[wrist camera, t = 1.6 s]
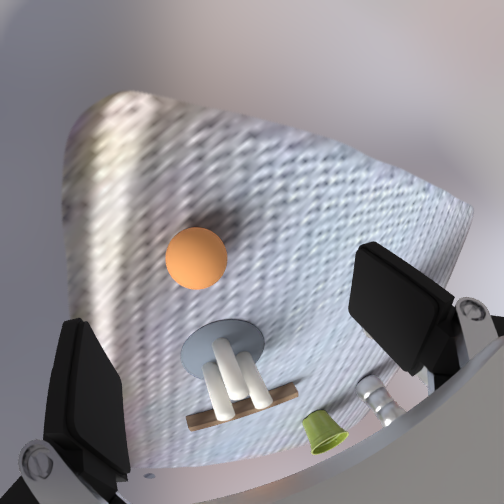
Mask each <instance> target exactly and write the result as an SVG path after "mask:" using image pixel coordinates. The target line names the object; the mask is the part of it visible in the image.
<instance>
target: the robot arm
mask: <svg viewBox="0 0 504 504" xmlns="http://www.w3.org/2000/svg"><path fill="white" fill-rule="evenodd" d="M454 298H455V297H454V296H453V295H452V294H450V293H449V292H448V291H446V290H445V289H444V288H442V287H441V286H439V285H438V284H437V283H435V282H434V281H433V280H431V279H430V278H428V277H427V276H426V275H424V274H423V273H421V272H420V271H418V270H417V269H416V268H414V267H413V266H411V265H410V264H408V263H407V262H405V261H404V260H402V259H401V258H399V257H398V256H396V255H395V254H393V253H392V252H390V251H389V250H387V249H386V248H384V247H383V246H381V245H380V244H378V243H377V242H369V243H366V244H362V245H360V246H359V248H358V250H357V252H356V255H355V264H354V272H353V279H352V286H351V293H350V300H349V306H348V309H349V313H350V315H351V316H352V317H353V318H354V319H355V320H356V321H357V322H358V323H359V324H360V325H361V327H362V329H363V332H364V334H365V335H366V336H367V337H368V338H370V339H374V340H375V341H376V342H377V343H378V344H379V345H380V346H381V347H382V348H383V349H384V351H385V352H386V353H387V354H388V355H389V356H390V357H391V358H392V359H393V360H394V361H395V362H396V363H397V364H398V365H399V366H400V367H401V369H402V370H404V371H406V372H409V374H410V375H411V376H414V375H416V376H417V377H418V378H419V379H420V380H421V381H422V382H423V383H424V384H425V385H426V386H427V388H428V397H427V398H426V399H424V400H423V401H422V402H420V403H419V404H418V405H416V406H415V407H413V408H412V409H411V410H409V411H408V412H406V413H405V414H404V415H402V416H401V417H399V418H398V419H396V420H395V421H393V422H392V423H390V424H389V425H387V426H386V427H384V428H382V429H381V430H379V431H378V432H376V433H375V434H373V435H371V436H369V437H368V438H366V439H364V440H363V441H361V442H359V443H357V444H355V445H354V446H352V447H350V448H348V449H346V450H345V451H343V452H341V453H339V454H337V455H335V456H333V457H331V458H329V459H326V460H324V461H322V462H320V463H318V464H316V465H314V466H311V467H309V468H307V469H304V470H302V471H300V472H298V473H295V474H293V475H290V476H287V477H285V478H282V479H280V480H277V481H274V482H271V483H269V484H266V485H263V486H260V487H257V488H253V489H250V490H247V491H244V492H240V493H237V494H233V495H229V496H225V497H222V498H217V499H213V500H209V501H204V502H200V503H194V504H504V317H500V316H492V315H490V313H489V311H488V309H487V307H486V306H485V305H484V304H483V303H481V302H480V301H479V300H476V299H474V298H469V297H463V298H461V299H459V300H458V301H457V303H456V305H455V307H454V306H452V303H453V300H454ZM18 466H19V471H20V472H21V476H20V477H19V479H17V481H16V482H15V483H14V484H13V485H12V487H10V488H9V490H8V491H7V492H6V493H5V494H4V495H3V496H2V498H0V504H131V503H130V502H128V501H127V500H126V499H125V498H124V497H123V496H121V495H120V494H119V493H118V492H117V491H118V489H117V483H116V482H126V481H128V479H127V473H130V462H129V456H128V448H127V441H126V432H125V422H124V411H123V397H122V383H121V379H120V377H119V375H118V373H117V372H116V370H115V368H114V367H113V365H112V363H111V362H110V360H109V359H108V357H107V355H106V353H105V352H104V350H103V348H102V347H101V345H100V343H99V341H98V339H97V338H96V336H95V334H94V332H93V330H92V328H91V327H90V325H89V323H88V322H87V321H85V322H83V320H82V319H81V318H76V319H72V320H68V321H64V323H63V326H62V329H61V333H60V337H59V342H58V346H57V350H56V355H55V361H54V366H53V369H52V372H51V377H50V383H49V389H48V396H47V404H46V412H45V422H44V434H43V440H38V439H36V440H32V441H29V442H28V443H27V444H25V446H24V447H23V448H22V449H21V451H20V454H19V459H18Z"/></svg>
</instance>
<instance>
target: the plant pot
mask: <svg viewBox="0 0 504 504" xmlns="http://www.w3.org/2000/svg"><path fill="white" fill-rule="evenodd" d="M302 423H303V426H304V428H305V431H306V434H307V436H308V439H309V441H310V444H311V449H312V451H311V453H312V454H313V455H317V454H320V453H324V452H326V451H328V450H330V449H332V448H334V447H336V446H337V445H338V444H340V443H341V442H342V441H344V440H345V439H346V438H347V436H348V435H349V433H348V432H347V431H345V430H344V429H343V428H340V426H339V425H338V424H337V423H336V422H335V421H334V420H333V419H332V418H331V417H330V416H329V414H328V413H327V412H326V411H325V410H324V411H323V410H318V411H316V412H313V413H311V414H310V415H309V416H308V417H307V418H306V419H304V420H303V422H302Z"/></svg>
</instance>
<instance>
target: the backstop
mask: <svg viewBox="0 0 504 504" xmlns="http://www.w3.org/2000/svg"><path fill="white" fill-rule="evenodd" d="M268 392H269V394H270V396H271V398H272V400H273V402H272V404H271V405H270V406H268V407H266V408H263V409H256V408H255V406H254V404H253V401H252V399H251V398H248V399H245V400H242V401H239V402H235V403H232V406H233V409H234V412H235V416H234V417H233V418H232V419H230V420H227V421H219V420H217V418H216V415H215V411H214V409H212V410H209V411H205V412H201V413H198V414H194V415H190V416H186V420H187V424H188V428H189V429H190V431H191V432H192V431H196V430H200V429H203V428H207V427H211V426H215V425H218V424H222V423H225V422H228V421H232V420H235V419H238V418H241V417H244V416H247V415H250V414H253V413H256V412H259V411H262V410H265V409H267V408H270V407H273V406H275V405H278V404H281V403H283V402H286V401H288V400H291V399H293V398H296V397H298V391H297V389H296V387H295V386H294V384H293V382H291V383H289V384H286V385H284V386H281V387H278V388H276V389H273V390H270V391H268Z"/></svg>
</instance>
